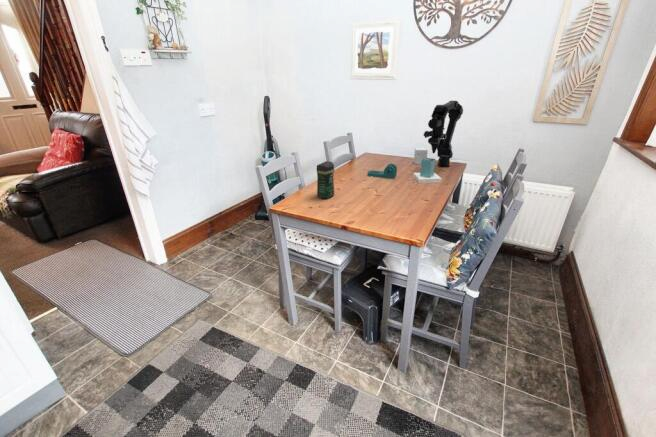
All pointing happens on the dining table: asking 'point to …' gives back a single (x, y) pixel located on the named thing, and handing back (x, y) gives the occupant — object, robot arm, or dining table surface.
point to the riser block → (427, 178)
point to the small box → (420, 155)
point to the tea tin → (427, 167)
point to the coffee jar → (325, 179)
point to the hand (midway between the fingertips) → (435, 151)
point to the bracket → (385, 172)
